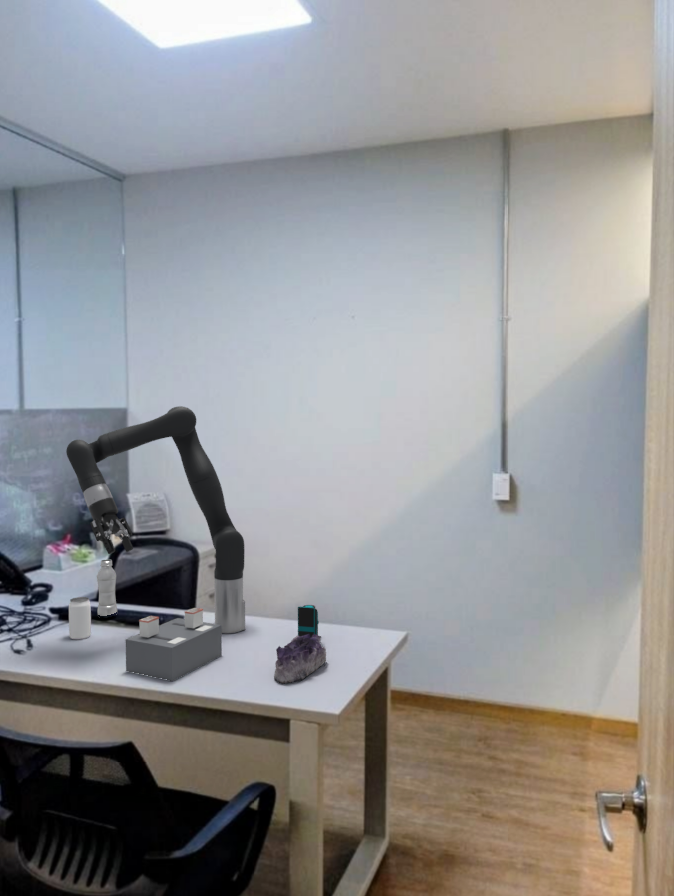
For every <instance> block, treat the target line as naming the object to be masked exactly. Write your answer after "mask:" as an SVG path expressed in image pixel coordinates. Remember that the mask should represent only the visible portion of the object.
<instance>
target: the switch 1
mask: <svg viewBox="0 0 674 896" xmlns="http://www.w3.org/2000/svg"><path fill="white" fill-rule="evenodd" d="M159 619H160V616H154V615H148V616H146V617H144V618H141V619H139V620H138V622H139V634H140V636H142V637H147V638H148V637H151V636H153V635H156V634H158V633H159V625H160V620H159Z"/></svg>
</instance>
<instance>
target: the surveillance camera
mask: <svg viewBox="0 0 674 896" xmlns="http://www.w3.org/2000/svg"><path fill="white" fill-rule="evenodd" d="M307 634H310V637H312V635H313V634H315V635H319V611H318V609H317V608H316V605H313V604H306V605H302V606H298V607H297V635H298V636H304V635H307ZM319 637H320V639H321V638H322V635H321V636H320V635H319Z"/></svg>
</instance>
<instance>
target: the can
mask: <svg viewBox="0 0 674 896" xmlns="http://www.w3.org/2000/svg"><path fill="white" fill-rule="evenodd" d="M69 601H70V602H69V604H68V633H69V634H68V636H69V639H71V640H76V641H77V640H86V639H87V638H88V639H89V638H90V637H91V636H92V635H91V634H92V612H91V610H92V609H91V602H90V598H89V597H86V596H78V597H73V598H71V599H70V600H69Z"/></svg>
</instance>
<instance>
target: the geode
mask: <svg viewBox="0 0 674 896" xmlns="http://www.w3.org/2000/svg"><path fill="white" fill-rule="evenodd" d="M319 636H320V635H319V634H318V635H315V634H313V635H312V637H310V634H307V635H304V636H298V634H297V635H296V636H295V637H293V638H292V640H291V641H290V642H288V643H287V644H286V645H284V646H283V647H281V646H280V645H279V646H278V647H277V648H276V649H275V650H276V659H277V660H276V661H275V669H274V675H273V677H274V678H273V679H274V681H276V682H277V683H278V684H281V685H288V684H289V685H290V684H294V683H297V682H301V681H303V680H304V679H305V678H306V677H308V676H309V675H310V674H312V673H315V671H318V669H319V668H320V667H321V666H323V665H324V663H326V662H327V657H326V656H327V648H325V646H322V645H321V638H320V637H319Z"/></svg>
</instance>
